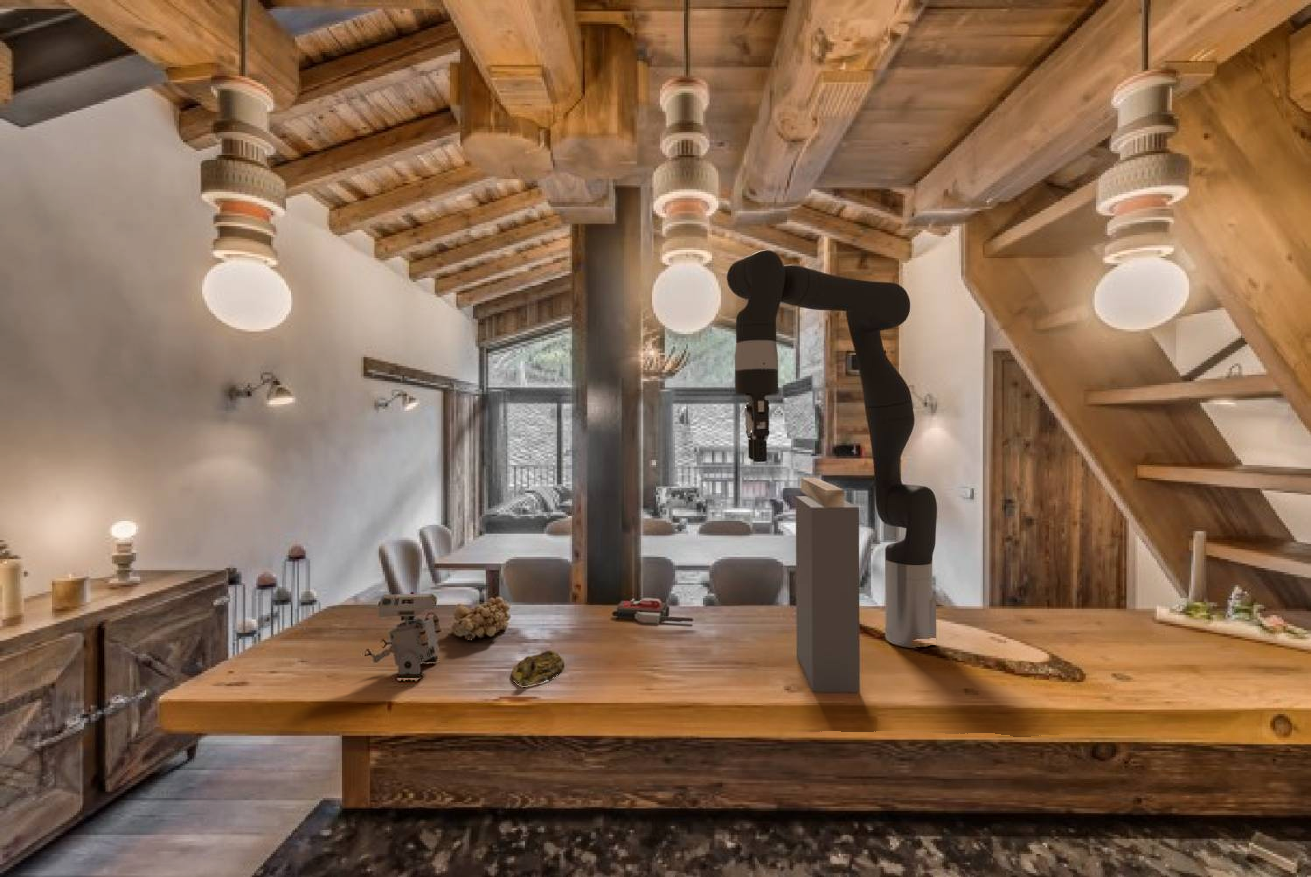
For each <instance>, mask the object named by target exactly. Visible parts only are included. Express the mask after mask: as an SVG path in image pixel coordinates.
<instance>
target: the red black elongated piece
mask: <svg viewBox="0 0 1311 877" xmlns="http://www.w3.org/2000/svg"><path fill="white" fill-rule="evenodd" d="M611 613H612V615H611V616H613V617H616V618H617V619H624V620H636V621H638V622H641V623H646V624H658V625H659V624H660V623H661V622H676V623H677V622H679V623H681V622H694V618H693V617H681V616H668V615H670V605H667V603H666V602H662V600H661V598H656V597H653V598H652V597H643V598H642V599H640V600H635V598H632V599H631V600H621V601H620V602H619V604H617V607H616V610H614V611H612V612H611ZM666 615H667V616H666Z"/></svg>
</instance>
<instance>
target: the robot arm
mask: <svg viewBox="0 0 1311 877" xmlns="http://www.w3.org/2000/svg"><path fill="white" fill-rule="evenodd" d="M726 281H727V285H728V288H729V289H730V290H731V292H732V293H733V294H734V295H736V296H737V297H739V298H742V299H744V300H747V301H748V302H747V304H746V305H745V307H744V308H742V310H739V312H738V314H737V315H736V318H735V353H734V394H735V395H736V396H738V397H746V398H748V402H747V403H746V405H745V406H744V416H745V421H744V423H745V424H744V425H745V429H746V430H745V433H746V437H747V439H748V440H747V441H748V443H747V446H748V459H750V460H752V461H754V462H755V463H765V462H767V460H768V459H767V458H768V456H767V453H768V450H767V449H768V445H767V443H768V438H769V436H770V411H771V410H770V401H769V400H768V399H766V397H772V396H777V395H778V394H779V355H778V354H779V353H778V347H777V345H778V344H777V316H778V312H779V308H780V304H781V303H783V304H787V305H790V306H795V307H798V308H803V309H808V310H814V311H815V310H816V311H836V312H837V311H838V312H845V316H846V322H847V326H848V330H849V334H850V338H851V342H852V346H853V350H854V353H855V356H856V361H857V366H858V371H859V377H860V383H861V388H862V389H861V390H862V394H863V404H864V410H865V416H866V422H867V423H866V424H867V427H868V433H869V438H870V447H871V453H872V465H873V479H874V481H873V482H874V495H875V496H874V497H875V498H874V499H875V506H876V511H877V514H878V517H879V519H880V521H881V522H883V524H884V525H887V526H890V527H896V528H902V529H905V535H904V539H902V540H901V541H897V542H892V543H889V544H887V545H886V546H885V549H884V550H885V551H884V567H885V568H884V575H885V576H884V577H885V578H884V582H885V583H884V586H885V588H884V590H885V591H884V592H885V593H884V594H885V595H884V599H885V600H884V601H885V602H884V603H885V604H884V605H885V606H884V608H885V609H884V610H885V611H884V615H885V617H884V622H885V623H884V624H885V627H884V632H885V640H886V641H887V642H888V643H891V644H893V645H896V646H899V647H904V648H909V649H917V648H916V646H915V645H914V644H912V643H911V641H913V640H916V639H930V638H936V639H937V600H936V599H935V598H934V597H933V555H934V552H935V551H934V550H935V548H936V539H937V537H936V536H937V535H936V534H937V533H936V532H937V523H938V522H937V521H938V520H937V519H938V503H937V498H936V495H935V494H934V491H933V490H932V489H931V488H930V487H928V486H924V485H917V484H915V485H914V484H903V482H902V478H901V469H900V468H901V467H900V466H901V465H900V463H901V458H902V454H903V452H904V450H905V447H906V445H907V443H908V441H909V439H910V437H911V435H912V433H913V429H914V426H915V420H916V419H915V412H914V411H915V410H914V405H913V398H912V393H911V390H910V386H908V384H907V382H906V381H905V379H904V378H903V377H902V375H901V374H900V373H899V371H898V370H897V369H896V367H895V366H894V365H893V364H892V362H891V361H890V359H889V357H888V356H887V354H886V351H885V349H884V345H883V341H882V335H881V331H886V330H887V331H888V330H891V329H895V328H897V327H899V326H900V325H902V324H904V322H906V320H907V319H908V317H909V315H910V311H911V300H910V296H909V294H908V293H907V290H906V289H905V288H904V287H903V286H902V285H900V284H898V283H896V282H892V281H891V282H887V281H870V280H864V279H863V280H861V279H855V278H848V277H844V276H838V275H835V274H831V273H827V272H823V271H819V270H816V269H812V268H810V267H809V268H808V267H805V266H802V265H800V264H799V265H797V264H785V265H784V263H783V261H782V258H781V257H780V256H779V255H778V253H776V252H775V251H773V250H770V249H763V250H762V249H761V250H759V251H757V252H754V253H752V254H750V255H747V256H745V257H742V258H740V259H738V260H735V261H734V263H732V265H730V267H729V269H728V271H727V275H726Z"/></svg>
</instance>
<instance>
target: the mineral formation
mask: <svg viewBox="0 0 1311 877" xmlns="http://www.w3.org/2000/svg"><path fill="white" fill-rule="evenodd" d="M510 609H511V605H510V604H509V602H508V601H507V600H504V599H503V598H502V596H496V597H494V598H493V597H490V598H488V600H487V603H486V604H485V603H481V604H477V605H476V606H474V608H472V609H471V610H470V609H469V608H468V607H467V606H466V605H464V604H462V603H458V604H456V606H455V608H454V611H453V618H454V621H453V623H452V625H451V627H450V628H449V632H450V633H453V634H454V635H456V637H460V638H462V637H463V636H464V638H465V640H466V639H469V640H471V639H474V640H475V638H476V637H478V639H481V638H484V636H485V635H486V636H488V637H494V635H496V634H499V633H500V631H501V630H505V631H506V630H507V629H508V627H509V622H508V621H510V619H511V617H512V616H511V614H510V613H508V612H510ZM498 632H499V633H498ZM495 633H496V634H495ZM476 635H477V636H476ZM471 641H472V640H471Z"/></svg>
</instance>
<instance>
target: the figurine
mask: <svg viewBox="0 0 1311 877" xmlns="http://www.w3.org/2000/svg"><path fill="white" fill-rule="evenodd" d="M437 601H438V597H437V596H436V595H434V594H433V593H415V592H414V591H411V592H410V593H405V594H404V593H403V594H402V593H401V594H400V593H397V594H392V593H391V594H382V596H381V597H380V600H379V602H378V618H380V617H381V618H383V617H400V620H401V622H399V623H398V624H396V627H394V628H392V630H391V631H389V637H390V641H386V640H385V639H384V638H382V639H381V641H380V643H382V642H383V643H384V645H383V646H382V645H380V647H381V648H382V649H384V650H383V651H382V652H380V653H378V654H374V653H373V652H371V651H370V649H369V648H367V649H366V650H365V651H364V657H368V656H370V657H372V661H373V663H375V664H376V663H379V662H380V661H381V660H382V659H383V658H385V657H388V656H390V654H391V653H392V654H393V657H394V662H395V665H396V666H398V668H397V674H396V679H397V678H420V677H421V676H422V677H423V673H422V671H421V669H422V668H421V664H420V663H421V662H436V661H437V659H438V660H439V658H438V655H437V653H438V652H439V651H440V649H439V644H438V639H437V634H439V633H441V632H442V629H441V627H440V618H439V616H438V615H437V614H435V613H434V612H429V613H427V615H426V617H424V618H423V617H416V616H418V615H420V614H421V613H423V612H425V611H427V610H435V609H436V607H437ZM431 614H433V616H432V618H431V617H428V616H429V615H431ZM387 645H390V646H389V647H388V649H387V648H386V646H387ZM385 648H386V649H385ZM366 652H368V653H367V654H366ZM437 662H438V661H437ZM437 662H436V663H437Z"/></svg>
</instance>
